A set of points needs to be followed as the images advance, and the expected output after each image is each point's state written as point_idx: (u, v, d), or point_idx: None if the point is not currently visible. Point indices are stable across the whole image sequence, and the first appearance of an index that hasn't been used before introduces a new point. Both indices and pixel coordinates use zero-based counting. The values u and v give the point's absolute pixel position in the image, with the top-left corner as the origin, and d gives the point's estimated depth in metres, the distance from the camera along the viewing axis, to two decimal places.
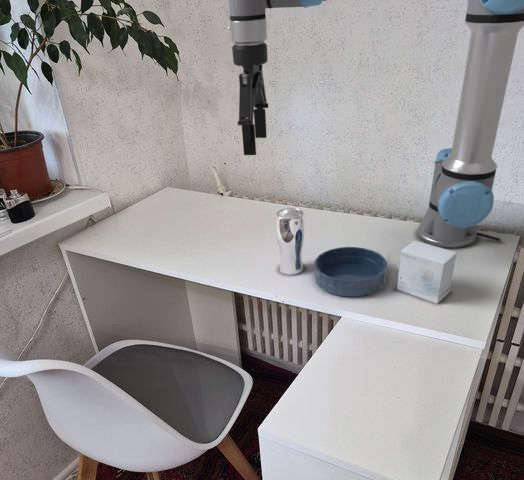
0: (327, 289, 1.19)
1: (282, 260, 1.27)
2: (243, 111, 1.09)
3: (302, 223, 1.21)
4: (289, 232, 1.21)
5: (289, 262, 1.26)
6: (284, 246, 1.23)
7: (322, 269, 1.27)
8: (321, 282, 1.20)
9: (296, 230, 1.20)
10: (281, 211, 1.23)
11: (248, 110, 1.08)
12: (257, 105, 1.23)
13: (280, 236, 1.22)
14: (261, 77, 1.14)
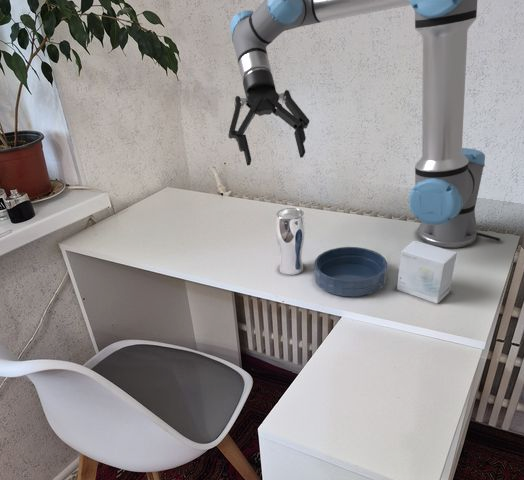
0: (327, 289, 1.19)
1: (282, 260, 1.27)
2: None
3: (302, 223, 1.21)
4: (289, 232, 1.21)
5: (289, 262, 1.26)
6: (284, 246, 1.23)
7: (322, 269, 1.27)
8: (321, 282, 1.20)
9: (296, 230, 1.20)
10: (281, 211, 1.23)
11: (231, 123, 1.22)
12: None
13: (280, 236, 1.22)
14: (270, 98, 1.23)
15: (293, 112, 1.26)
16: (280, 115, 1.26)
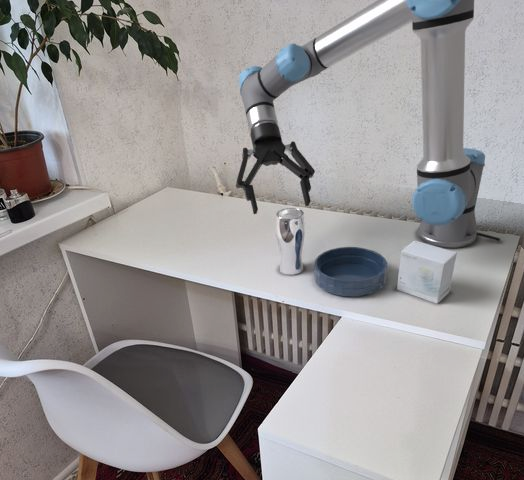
0: (327, 289, 1.19)
1: (282, 260, 1.27)
2: None
3: (302, 223, 1.21)
4: (289, 232, 1.21)
5: (289, 262, 1.26)
6: (284, 246, 1.23)
7: (322, 269, 1.27)
8: (321, 282, 1.20)
9: (296, 230, 1.20)
10: (281, 211, 1.23)
11: (238, 174, 1.26)
12: None
13: (280, 236, 1.22)
14: (277, 149, 1.27)
15: (299, 162, 1.30)
16: (286, 165, 1.29)
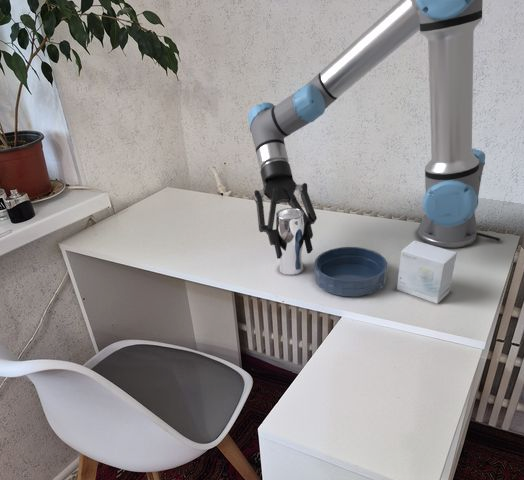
0: (327, 289, 1.19)
1: (282, 260, 1.27)
2: (258, 221, 1.24)
3: (302, 223, 1.21)
4: (289, 232, 1.21)
5: (289, 262, 1.26)
6: (284, 246, 1.23)
7: (322, 269, 1.27)
8: (321, 282, 1.20)
9: (296, 230, 1.20)
10: (281, 211, 1.23)
11: (259, 218, 1.23)
12: (304, 223, 1.26)
13: (280, 236, 1.22)
14: (287, 188, 1.24)
15: (305, 205, 1.26)
16: (292, 206, 1.26)
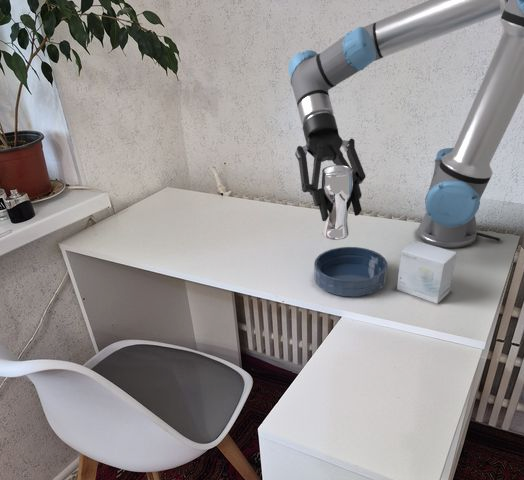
0: (327, 289, 1.19)
1: (327, 224, 1.16)
2: (302, 180, 1.13)
3: (351, 180, 1.10)
4: (337, 190, 1.09)
5: (335, 225, 1.15)
6: (330, 207, 1.12)
7: (322, 269, 1.27)
8: (321, 282, 1.20)
9: (344, 188, 1.09)
10: (327, 168, 1.12)
11: (303, 177, 1.12)
12: None
13: (326, 196, 1.11)
14: (333, 144, 1.13)
15: (352, 163, 1.15)
16: (338, 164, 1.15)
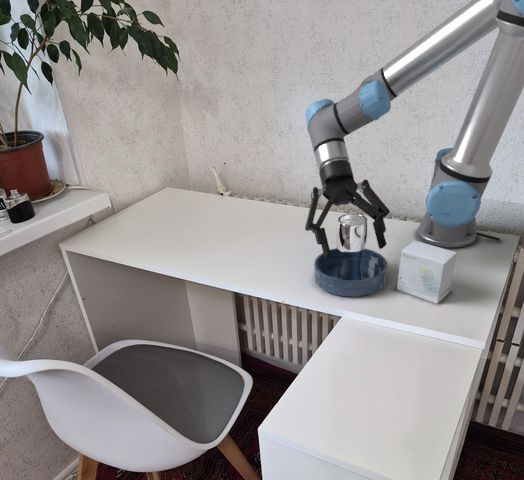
0: (327, 289, 1.19)
1: (341, 268, 1.21)
2: (307, 218, 1.17)
3: (365, 229, 1.15)
4: (352, 239, 1.14)
5: (349, 270, 1.20)
6: (345, 254, 1.17)
7: (322, 269, 1.27)
8: (321, 282, 1.20)
9: (359, 237, 1.14)
10: (342, 217, 1.17)
11: (309, 216, 1.16)
12: (376, 218, 1.20)
13: (342, 243, 1.16)
14: (349, 189, 1.17)
15: (372, 202, 1.20)
16: (358, 205, 1.20)
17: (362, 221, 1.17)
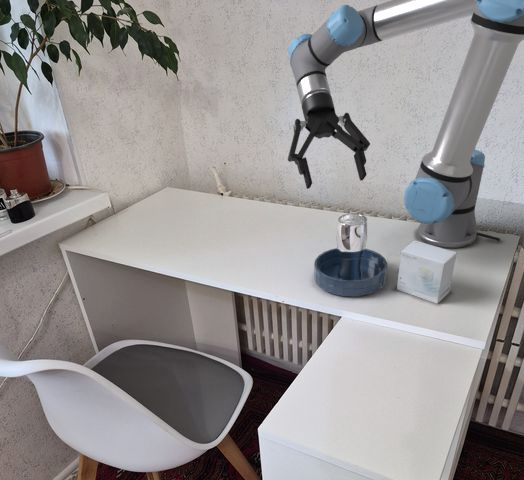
0: (327, 289, 1.19)
1: (341, 268, 1.21)
2: (290, 149, 1.21)
3: (365, 229, 1.15)
4: (352, 239, 1.14)
5: (349, 270, 1.20)
6: (345, 254, 1.17)
7: (322, 269, 1.27)
8: (321, 282, 1.20)
9: (359, 237, 1.14)
10: (342, 217, 1.17)
11: (291, 146, 1.20)
12: (356, 150, 1.23)
13: (342, 243, 1.16)
14: (331, 121, 1.21)
15: (353, 135, 1.24)
16: (339, 137, 1.23)
17: (362, 221, 1.17)
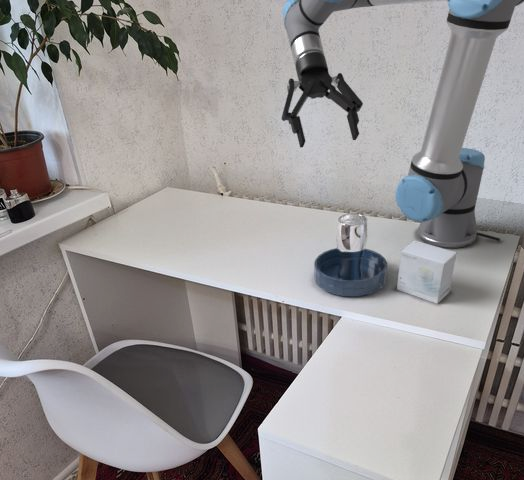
0: (327, 289, 1.19)
1: (341, 268, 1.21)
2: None
3: (365, 229, 1.15)
4: (352, 239, 1.14)
5: (349, 270, 1.20)
6: (345, 254, 1.17)
7: (322, 269, 1.27)
8: (321, 282, 1.20)
9: (359, 237, 1.14)
10: (342, 217, 1.17)
11: None
12: (349, 110, 1.25)
13: (342, 243, 1.16)
14: (324, 80, 1.23)
15: (346, 95, 1.25)
16: (332, 98, 1.25)
17: (362, 221, 1.17)
